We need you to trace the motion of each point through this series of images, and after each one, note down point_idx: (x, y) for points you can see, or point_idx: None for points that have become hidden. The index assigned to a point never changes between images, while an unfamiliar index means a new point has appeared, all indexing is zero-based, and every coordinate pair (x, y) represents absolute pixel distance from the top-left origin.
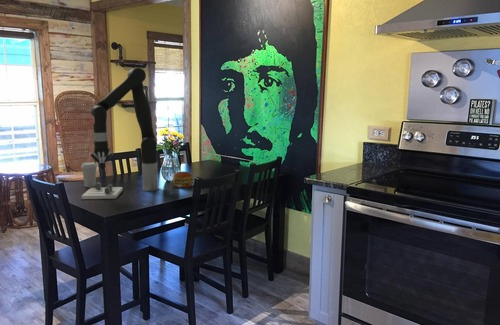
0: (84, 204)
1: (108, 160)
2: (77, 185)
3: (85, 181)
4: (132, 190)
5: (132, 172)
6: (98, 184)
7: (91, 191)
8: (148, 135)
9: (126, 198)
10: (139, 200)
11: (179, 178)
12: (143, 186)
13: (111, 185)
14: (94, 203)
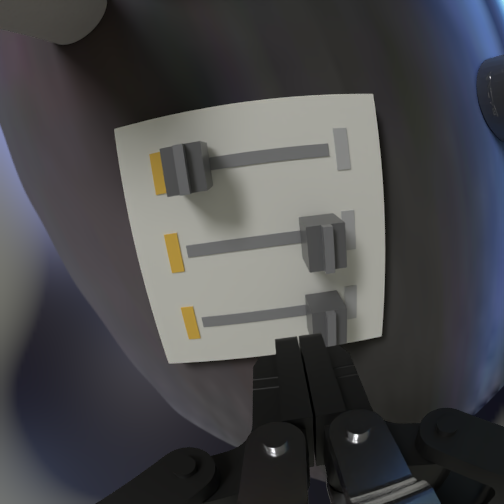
0: (239, 426)
1: (466, 419)
2: None
3: (35, 37)
4: (428, 109)
5: None
6: (194, 191)
7: (174, 259)
8: None
9: (427, 315)
10: (476, 337)
11: None
12: (500, 119)
13: (341, 240)
14: None
